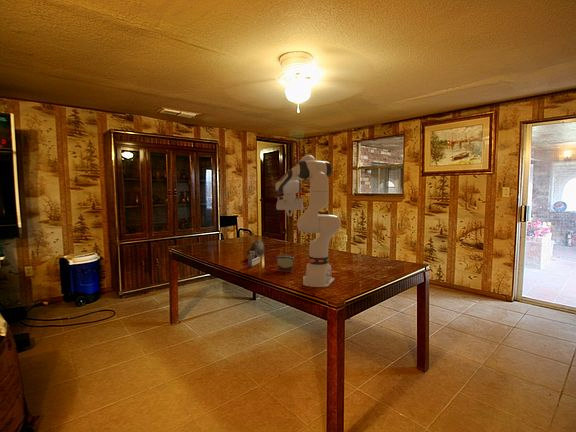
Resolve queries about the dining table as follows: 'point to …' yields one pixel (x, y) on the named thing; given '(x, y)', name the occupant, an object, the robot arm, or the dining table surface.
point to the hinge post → (249, 261)
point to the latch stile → (252, 254)
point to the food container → (285, 262)
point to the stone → (257, 248)
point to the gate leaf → (255, 261)
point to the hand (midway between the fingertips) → (289, 216)
